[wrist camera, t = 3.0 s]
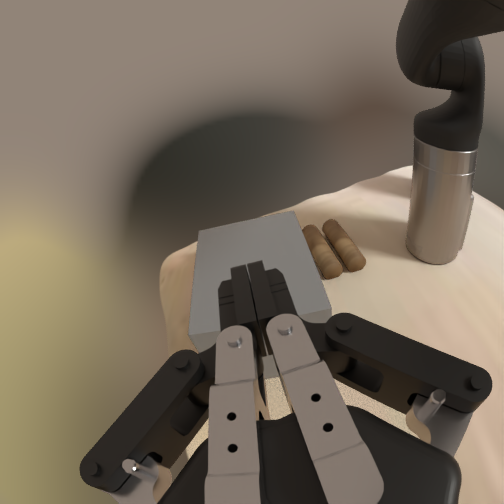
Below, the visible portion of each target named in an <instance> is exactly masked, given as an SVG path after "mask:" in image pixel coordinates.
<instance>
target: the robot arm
mask: <svg viewBox="0 0 504 504" xmlns="http://www.w3.org/2000/svg"><path fill="white" fill-rule="evenodd" d="M501 31H504V0H409V1H408V3H407V5H406V8H405V11H404V13H403V15H402V18H401V20H400V23H399V27H398V31H397V38H396V53H397V59H398V63H399V65H400V68H401V70H402V71H403V73H404V75H405V76H406V77H407V79H409V80H410V81H411V82H413V83H415V84H417V85H420V86H424V87H431V88H439V89H446V90H452V91H451V96H450V98H449V99H448V100H447V101H446V102H445V103H443V104H442V105H440V106H438V107H435V108H432V109H428V110H425V111H422V112H419V113H418V114H417V115H416V116H415V118H414V153H413V174H412V189H411V200H410V210H409V219H408V227H407V234H406V246H407V248H408V250H409V251H410V252H411V253H412V254H413V255H414V256H415V257H417V258H418V259H420V260H422V261H425V262H428V263H432V264H445V263H448V262H451V261H452V260H453V259H455V257H456V256H457V253H458V251H459V250H460V249H462V246H463V243H464V239H465V235H466V231H467V227H468V223H469V219H470V215H471V210H472V205H473V200H474V197H473V195H472V188H473V182H474V176H475V168H476V160H477V151H478V140H479V136H480V132H481V129H482V123H483V108H484V91H485V64H484V55H483V51H482V47H481V44H480V41H479V39H478V36H483V35H487V34H492V33H497V32H501ZM247 267H248V271H247ZM247 267H246V264H244V265H240V266H236V267H232V268H230V271H231V279H229V280H225V281H222V282H221V284H220V286H219V288H218V299H219V300H218V302H219V317H220V334H219V335H218V337H217V340H216V343H215V344H214V345H213V346H212V347H210V348H209V349H207V350H205V351H203V352H201V353H199V354H197V353H196V352H194V351H192V350H181V351H178V352H176V353H174V354H173V355H172V356H171V357H170V358H169V359H168V360H167V361H166V363H165V364H164V365H163V366H162V367H161V368H160V370H159V371H158V372H157V373H156V374H155V375H154V377H153V378H152V379H151V380H150V381H149V382H148V384H147V385H146V386H145V387H144V388H143V389H142V391H141V392H140V393H139V394H138V395H137V396H136V398H135V399H134V400H133V401H132V402H131V404H130V405H129V406H128V407H127V408H126V409H125V411H124V412H123V413H122V414H121V415H120V416H119V418H118V419H117V420H116V421H115V422H114V423H113V425H112V426H111V427H110V428H109V429H108V430H107V432H106V433H105V434H104V435H103V436H102V437H101V438H100V440H99V441H98V442H97V443H96V444H95V445H94V447H93V448H92V449H91V450H90V451H89V452H88V453H87V455H86V456H85V457H84V458H83V460H82V461H81V464H80V475H81V477H82V479H83V481H84V482H85V483H86V484H88V485H90V486H92V487H95V488H97V489H100V490H102V491H103V492H106V493H108V494H110V495H111V496H112V497H113V498H114V499H115V500H116V501H117V502H118V503H119V504H458V499H459V492H460V487H461V470H460V467H459V464H458V463H457V461H456V460H455V458H454V455H455V453H456V451H457V449H458V447H459V445H460V443H461V441H462V438H463V436H464V434H465V432H466V429H467V427H468V424H469V422H470V419H471V417H472V414H473V412H474V411H475V410H476V409H477V408H478V407H479V406H480V405H481V404H482V402H483V401H484V400H485V399H486V398H487V397H488V396H489V394H490V393H491V390H492V379H491V376H490V375H489V373H488V372H487V371H486V370H485V369H483V368H481V367H479V366H476V365H474V364H471V363H469V362H466V361H464V360H461V359H459V358H456V357H454V356H451V355H449V354H446V353H444V352H441V351H439V350H436V349H434V348H432V347H429V346H427V345H424V344H422V343H419V342H417V341H415V340H412V339H410V338H407V337H405V336H403V335H400V334H398V333H395V332H393V331H391V330H388V329H386V328H384V327H381V326H379V325H377V324H374V323H372V322H369V321H367V320H365V319H362V318H360V317H358V316H355V315H353V314H350V313H339V314H336V315H334V316H332V317H330V318H329V319H328V321H327V322H326V323H311V322H307V321H305V320H303V319H302V318H300V317H299V315H298V314H297V311H296V309H295V306H294V303H293V300H292V297H291V295H290V292H289V290H288V286H287V283H286V281H285V278H284V275H283V273H282V272H280V271H279V270H278V269H277V268H274V269H270V270H266V271H265V268H264V265H263V261H262V260H260V261H256V262H252V263H248V264H247ZM248 272H249V275H248ZM249 277H250V278H249ZM263 337H264V339H263ZM264 341H265V344H266V348H267V351H268V355H273V358H274V361H275V365H276V369H277V372H278V375H279V378H280V381H281V384H282V387H283V390H284V393H285V396H286V399H287V402H288V405H289V408H290V411H291V414H289V415H287V416H285V417H283V418H281V419H278V420H271V419H270V415H269V410H268V401H267V391H266V382H265V373H264V364H263V359H262V357H265V356H267V353H266V348H265V344H264ZM333 378H334V379H336V380H338V381H340V382H341V383H343V384H345V385H347V386H349V387H351V388H353V389H355V390H357V391H359V392H361V393H363V394H365V395H367V396H369V397H371V398H373V399H375V400H377V401H379V402H381V403H383V404H385V405H387V406H389V407H391V408H393V409H395V410H397V411H399V412H401V413H404V414H406V424H407V426H408V428H409V429H410V430H411V431H412V432H414V433H415V434H416V435H417V436H418V437H419V438H420V439H418V438H416V437H414V436H412V435H410V434H408V433H406V432H405V431H403V430H401V429H399V428H397V427H395V426H393V425H391V424H389V423H387V422H386V421H384V420H382V419H380V418H378V417H376V416H375V415H373V414H371V413H369V412H368V411H366V410H363V409H361V408H358V407H354V406H349V405H346V404H345V402H344V400H343V398H342V396H341V394H340V392H339V390H338V387H337V385H336V383H335V381H334V379H333ZM208 418H209V431H208V438H207V439H206V440H205V441H204V442H202V444H201V445H200V446H199V447H198V448H197V449H196V451H195V452H194V454H193V455H192V456H191V458H190V459H189V461H188V462H187V464H186V465H185V467H184V468H183V469H182V471H181V472H180V473H179V475H178V476H177V477H176V479H175V480H174V482H173V483H172V484H171V481H172V476H171V472H170V470H169V469H170V468H171V466H172V465H173V464H174V463H175V461H176V460H177V459H178V457H179V456H180V455H181V454H182V452H183V451H184V450H185V448H186V447H187V446H188V445H189V443H190V442H191V441H192V439H193V438H194V437H195V435H196V434H197V433H198V431H199V430H200V429H201V427H202V426H203V425H204V423H205V422H206V420H207V419H208ZM170 485H171V486H170ZM169 486H170V487H169Z"/></svg>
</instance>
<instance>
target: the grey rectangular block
mask: <svg viewBox="0 0 504 504" xmlns="http://www.w3.org/2000/svg"><path fill="white" fill-rule="evenodd" d="M260 260H262V261H263V265H264V268H265V271H266V270H270V269H274V268H277V269H278V270H279V271H280V272H282V273H283V275H284V278H285V281H286V283H287V286H288V290H289V292H290V295H291V297H292V300H293V303H294V306H295V309H296V311H297V314H298V315H299V317H300V318H302V319H303V320H305V321H307V322H311V323H326V322H327V321H328V319H329V318H330V317H331V316H332V308H331V305H330V302H329V300H328V297H327V294H326V291H325V289H324V286H323V283H322V281H321V278H320V275H319V273H318V270H317V268H316V265H315V262H314V260H313V257H312V255H311V252H310V250H309V247H308V245H307V242H306V240H305V237H304V235H303V232H302V230H301V227H300V225H299V222H298V220H297V218H296V215H295V213H294V211H289V212H284V213H279V214H275V215H270V216H265V217H260V218H255V219H251V220H246V221H241V222H237V223H233V224H228V225H224V226H219V227H214V228H210V229H206V230H201V231H199V236H198V243H197V251H196V260H195V269H194V278H193V287H192V298H191V308H190V320H189V332H188V336H189V337H190V339H191V341H192V342H193V344H194V345H195V347H196V349H197V350H198V352H199V353H201V352H203V351H205V350H207V349H209V348H210V347H212V346H213V345H214V344H215V343H216V340H217V337H218V335H219V334H220V317H219V302H218V300H219V299H218V288H219V286H220V284H221V282H222V281H225V280H229V279H231V271H230V268H232V267H236V266H240V265H244V264H246V267H247V264H248V263H252V262H256V261H260ZM247 271H248V267H247ZM248 275H249V272H248ZM249 278H250V277H249ZM263 339H264V337H263ZM264 344H265V341H264ZM265 348H266V344H265ZM266 353H267V356H265V357H262V359H263V364H264V373H265V379H269V378H275V377H279V375H278V372H277V369H276V365H275V361H274V358H273V355H268V351H267V348H266Z"/></svg>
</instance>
